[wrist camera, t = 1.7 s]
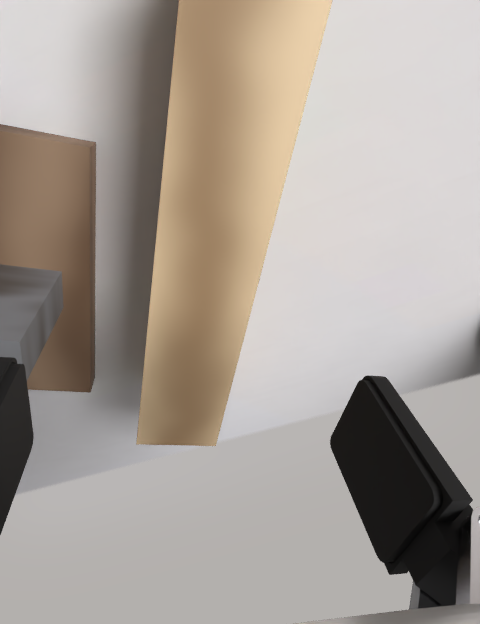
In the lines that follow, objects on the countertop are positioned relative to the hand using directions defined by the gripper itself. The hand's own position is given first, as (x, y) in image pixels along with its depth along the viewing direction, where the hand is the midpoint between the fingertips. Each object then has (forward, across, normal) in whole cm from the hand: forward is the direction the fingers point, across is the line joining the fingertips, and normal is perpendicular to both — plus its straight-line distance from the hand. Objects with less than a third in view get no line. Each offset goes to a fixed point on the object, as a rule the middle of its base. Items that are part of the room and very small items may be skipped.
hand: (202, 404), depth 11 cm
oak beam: (+14, -1, 0) cm, 14 cm away
